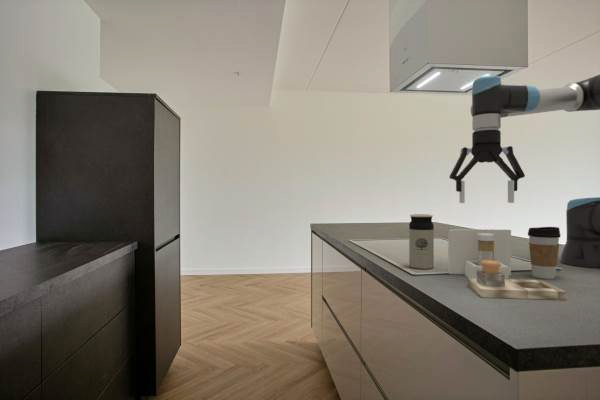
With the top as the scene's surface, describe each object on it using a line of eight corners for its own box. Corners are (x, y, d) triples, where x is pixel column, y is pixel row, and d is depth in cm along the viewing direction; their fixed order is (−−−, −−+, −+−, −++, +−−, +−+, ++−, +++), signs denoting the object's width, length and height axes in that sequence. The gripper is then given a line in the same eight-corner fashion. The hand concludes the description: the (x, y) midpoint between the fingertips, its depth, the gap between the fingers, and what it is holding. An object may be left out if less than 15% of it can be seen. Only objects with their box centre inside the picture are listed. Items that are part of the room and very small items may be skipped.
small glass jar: (496, 279, 102) (496, 260, 102) (502, 283, 98) (502, 263, 98) (478, 278, 103) (478, 259, 103) (484, 282, 98) (484, 263, 98)
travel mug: (412, 264, 138) (412, 214, 138) (435, 266, 134) (435, 214, 134) (406, 268, 131) (406, 215, 131) (430, 270, 127) (430, 215, 127)
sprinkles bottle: (496, 278, 115) (496, 233, 114) (491, 281, 111) (491, 234, 111) (480, 276, 118) (480, 232, 117) (475, 279, 115) (475, 233, 114)
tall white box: (508, 274, 120) (509, 229, 120) (525, 283, 109) (525, 233, 108) (448, 272, 123) (448, 229, 123) (458, 281, 111) (458, 233, 111)
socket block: (541, 287, 104) (542, 269, 104) (565, 300, 92) (565, 279, 92) (467, 285, 107) (467, 267, 107) (481, 297, 95) (481, 277, 95)
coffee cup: (565, 280, 112) (566, 228, 111) (533, 279, 114) (533, 228, 113) (552, 274, 120) (553, 226, 120) (523, 273, 122) (523, 225, 121)
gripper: (526, 131, 115) (526, 202, 116) (439, 133, 119) (439, 202, 120) (537, 127, 108) (537, 202, 108) (444, 130, 112) (444, 203, 112)
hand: (486, 202), depth 114 cm, fingers open, 13 cm apart
